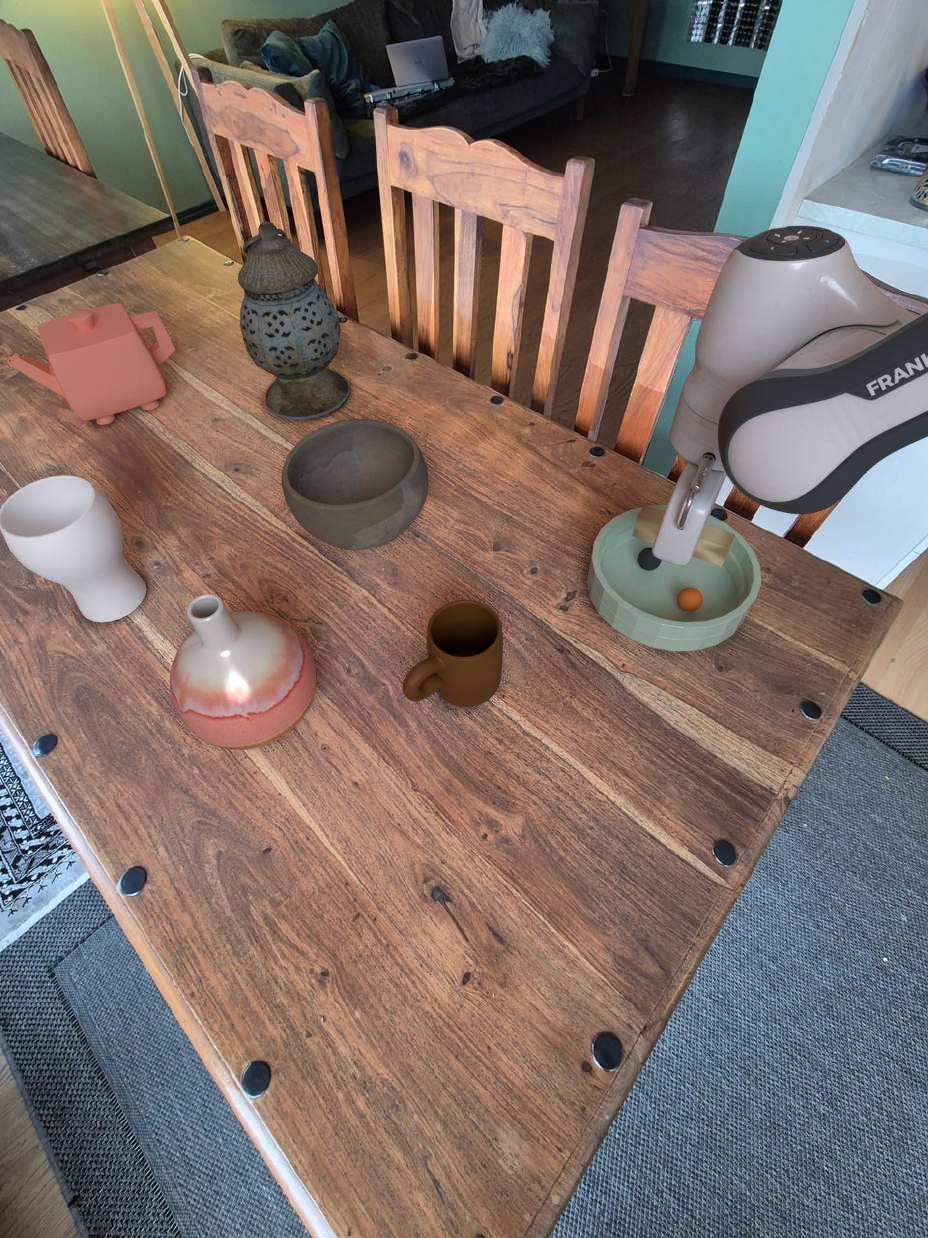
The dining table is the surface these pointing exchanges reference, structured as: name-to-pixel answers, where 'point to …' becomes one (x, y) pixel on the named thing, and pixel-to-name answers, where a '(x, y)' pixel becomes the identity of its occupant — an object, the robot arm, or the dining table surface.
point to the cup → (73, 544)
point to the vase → (240, 676)
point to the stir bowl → (670, 589)
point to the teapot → (101, 361)
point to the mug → (459, 656)
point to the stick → (709, 546)
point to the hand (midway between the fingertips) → (683, 533)
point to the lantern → (290, 327)
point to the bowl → (355, 483)
